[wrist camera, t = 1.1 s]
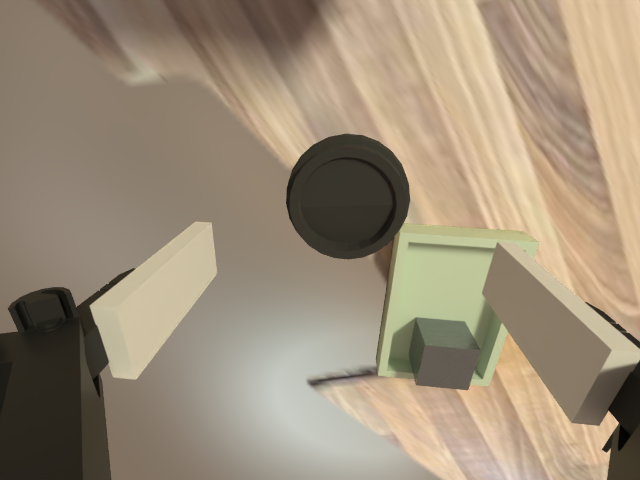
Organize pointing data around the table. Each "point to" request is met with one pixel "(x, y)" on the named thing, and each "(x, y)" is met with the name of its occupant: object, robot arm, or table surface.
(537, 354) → the robot arm
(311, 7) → the table surface
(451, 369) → the cube
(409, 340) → the green tray
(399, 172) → the coffee cup
